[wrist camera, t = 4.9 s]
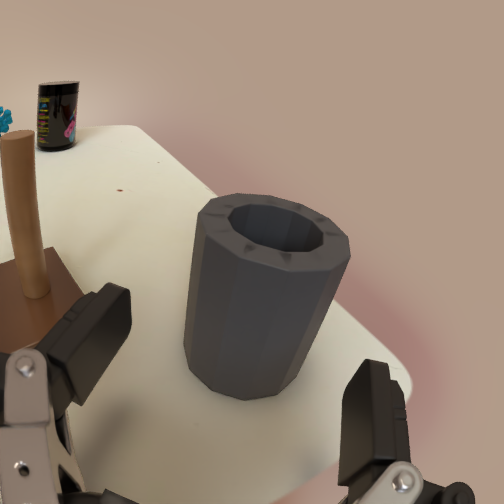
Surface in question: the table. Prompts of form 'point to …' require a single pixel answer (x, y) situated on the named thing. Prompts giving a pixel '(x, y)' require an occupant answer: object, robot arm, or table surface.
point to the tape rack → (28, 255)
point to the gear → (1, 123)
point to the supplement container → (57, 115)
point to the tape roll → (259, 291)
